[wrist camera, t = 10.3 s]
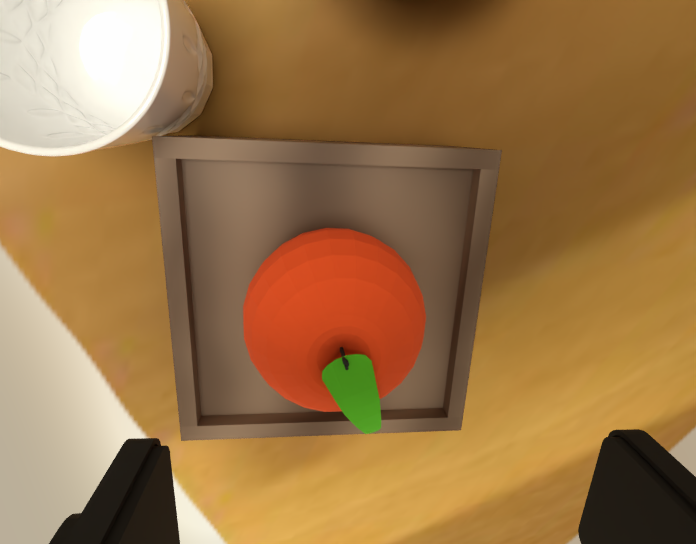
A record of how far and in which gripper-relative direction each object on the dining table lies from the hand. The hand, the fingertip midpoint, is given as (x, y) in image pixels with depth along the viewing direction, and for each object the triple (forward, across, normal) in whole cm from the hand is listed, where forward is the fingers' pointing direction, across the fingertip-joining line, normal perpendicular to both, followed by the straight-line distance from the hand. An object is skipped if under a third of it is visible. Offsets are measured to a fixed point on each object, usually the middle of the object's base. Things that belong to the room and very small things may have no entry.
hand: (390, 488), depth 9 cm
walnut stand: (+17, +1, 0) cm, 17 cm away
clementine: (+12, +1, 0) cm, 12 cm away
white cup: (+17, +10, -10) cm, 22 cm away
